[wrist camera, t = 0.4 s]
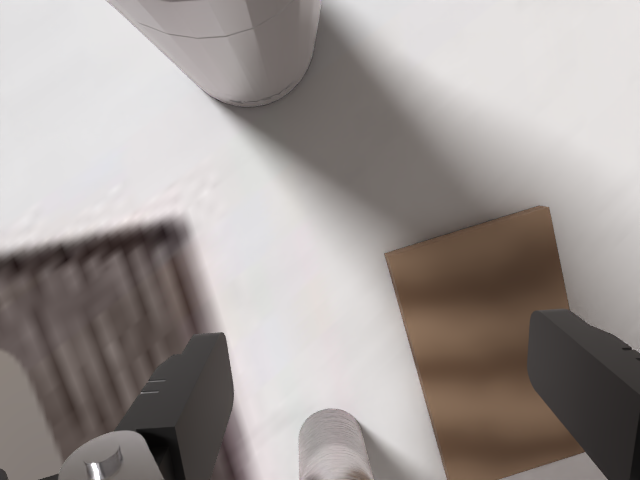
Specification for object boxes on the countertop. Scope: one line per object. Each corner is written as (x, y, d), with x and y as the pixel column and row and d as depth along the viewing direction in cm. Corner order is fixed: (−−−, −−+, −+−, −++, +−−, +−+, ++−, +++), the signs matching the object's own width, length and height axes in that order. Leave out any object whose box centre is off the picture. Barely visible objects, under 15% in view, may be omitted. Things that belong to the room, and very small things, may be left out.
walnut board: (384, 253, 30) (388, 256, 29) (539, 205, 30) (549, 207, 29) (447, 482, 33) (453, 493, 32) (586, 438, 34) (597, 448, 32)
